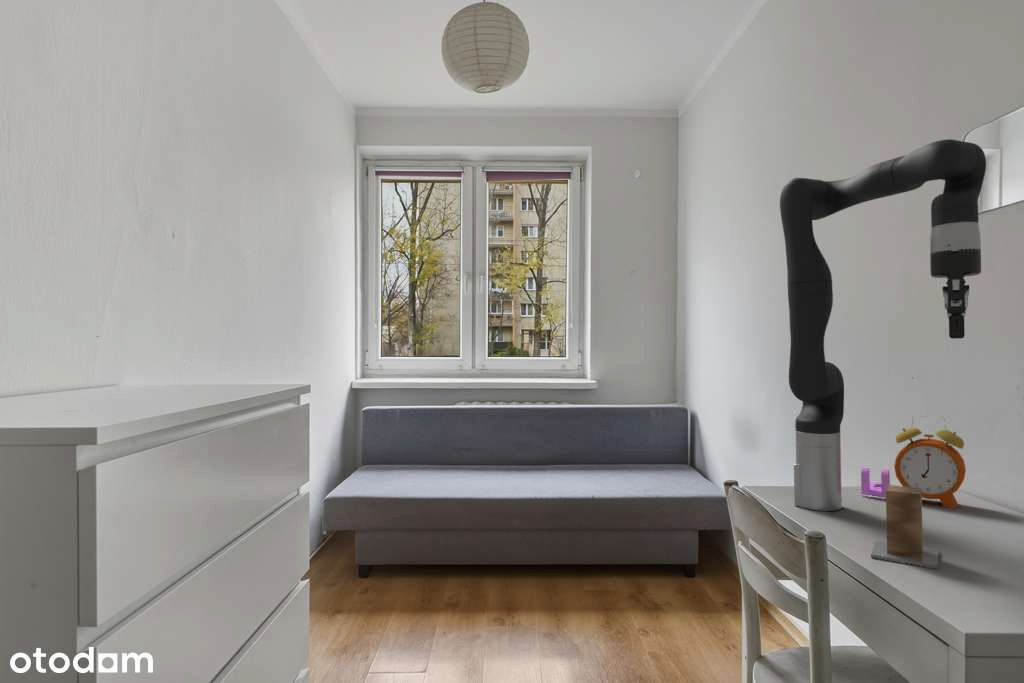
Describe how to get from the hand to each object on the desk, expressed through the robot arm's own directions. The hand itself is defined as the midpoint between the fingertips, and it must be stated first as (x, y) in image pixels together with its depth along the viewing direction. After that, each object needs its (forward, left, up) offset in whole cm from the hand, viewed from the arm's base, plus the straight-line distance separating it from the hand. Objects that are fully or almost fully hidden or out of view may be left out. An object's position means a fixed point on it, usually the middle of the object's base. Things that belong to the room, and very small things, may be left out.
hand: (956, 338), depth 111 cm
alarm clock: (-5, +33, -38) cm, 51 cm away
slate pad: (-8, -11, -38) cm, 40 cm away
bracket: (-16, +37, -38) cm, 56 cm away
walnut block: (-8, -11, -38) cm, 40 cm away
